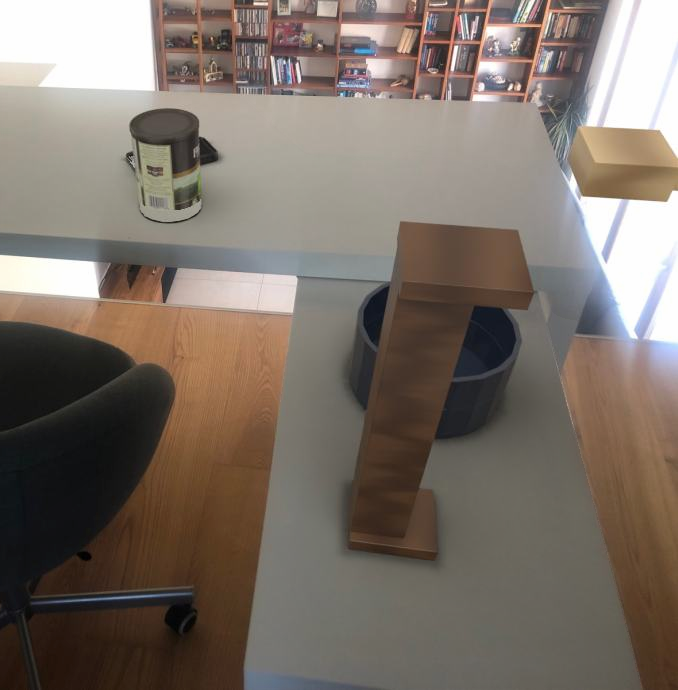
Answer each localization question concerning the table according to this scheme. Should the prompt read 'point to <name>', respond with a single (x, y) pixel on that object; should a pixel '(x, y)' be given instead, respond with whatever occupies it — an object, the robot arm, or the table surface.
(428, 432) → the stand
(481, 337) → the pot
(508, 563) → the table surface
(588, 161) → the t-shaped wooden block
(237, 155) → the table surface
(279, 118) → the table surface
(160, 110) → the coffee can
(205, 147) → the phone
